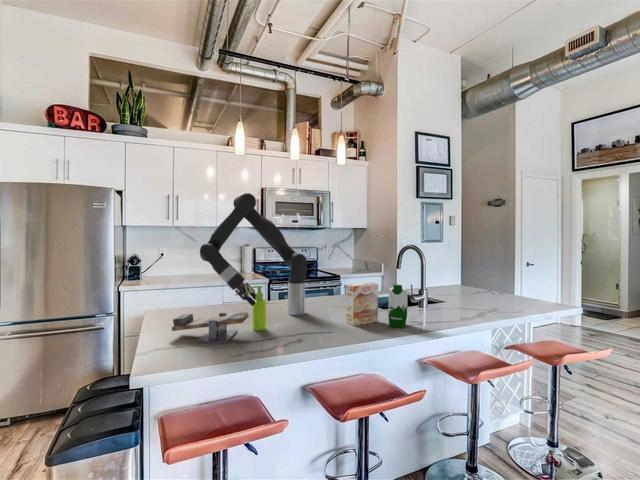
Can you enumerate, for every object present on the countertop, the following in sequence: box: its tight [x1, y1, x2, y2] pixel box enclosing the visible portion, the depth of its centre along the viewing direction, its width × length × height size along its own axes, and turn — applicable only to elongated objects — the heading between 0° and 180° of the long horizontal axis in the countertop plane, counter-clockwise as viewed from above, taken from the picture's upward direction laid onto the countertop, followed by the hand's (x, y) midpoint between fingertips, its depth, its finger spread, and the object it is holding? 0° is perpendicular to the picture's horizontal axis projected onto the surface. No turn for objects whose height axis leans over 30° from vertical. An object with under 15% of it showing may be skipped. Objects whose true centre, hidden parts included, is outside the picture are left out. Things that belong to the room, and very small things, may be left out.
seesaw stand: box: [196, 312, 238, 345], centre depth 148 cm, size 12×16×9 cm
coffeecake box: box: [345, 281, 379, 327], centre depth 173 cm, size 15×7×20 cm, turn 117°
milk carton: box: [387, 284, 408, 329], centre depth 168 cm, size 9×9×20 cm
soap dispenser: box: [250, 285, 267, 331], centre depth 161 cm, size 6×7×20 cm
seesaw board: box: [171, 311, 250, 332], centre depth 148 cm, size 30×10×5 cm, turn 86°
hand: (256, 302), depth 161 cm, fingers open, 8 cm apart
